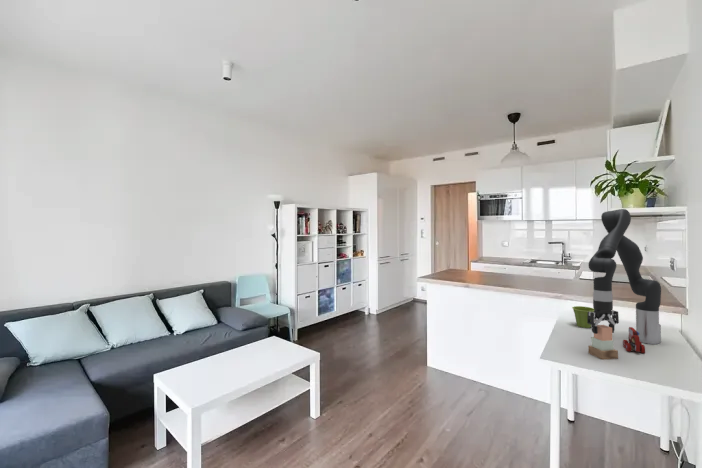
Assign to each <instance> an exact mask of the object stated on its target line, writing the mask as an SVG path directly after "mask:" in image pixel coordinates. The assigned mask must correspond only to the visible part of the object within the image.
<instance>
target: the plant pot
mask: <svg viewBox="0 0 702 468" xmlns="http://www.w3.org/2000/svg"><path fill="white" fill-rule="evenodd" d="M571 309H572V310H573V313H574V317H575V323H576V326H577V327H578V328H583V329H590V328H592V325H591V324H588V323H587V316H588V311H589V312H594V308H593V307H589V306H581V305H578V306H577V305H576V306H571ZM590 322H591V320H590Z"/></svg>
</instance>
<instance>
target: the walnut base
mask: <svg viewBox="0 0 702 468" xmlns="http://www.w3.org/2000/svg"><path fill="white" fill-rule="evenodd" d="M587 350H588V351H587V353H588V354H590V355H592V356H593V357H596V358H597V359H600V360H604V361H605V360H616V359H619V351H618V350H617V349H615V348H614V350H605V351H602V350H599V349H597V348H594V347H592V345H588V349H587Z"/></svg>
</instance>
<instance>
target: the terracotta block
mask: <svg viewBox="0 0 702 468" xmlns="http://www.w3.org/2000/svg"><path fill="white" fill-rule="evenodd" d="M597 329H598V333H597V334H595V333H593V337H594V338H597V339H599V340H602V341H610V340H613V333H612V328H611V327H609V325H605V324H598V325H597Z"/></svg>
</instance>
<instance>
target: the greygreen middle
mask: <svg viewBox="0 0 702 468" xmlns="http://www.w3.org/2000/svg"><path fill="white" fill-rule="evenodd" d="M590 338H591V346H592V347H594V348H597V349H599V350H602V351H605V350H614V349H615V348H614V347H615V346H614V344H615V343H614V339H612V340H610V341H602V340H599V339H597V338H594V336H592V337H590Z"/></svg>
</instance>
